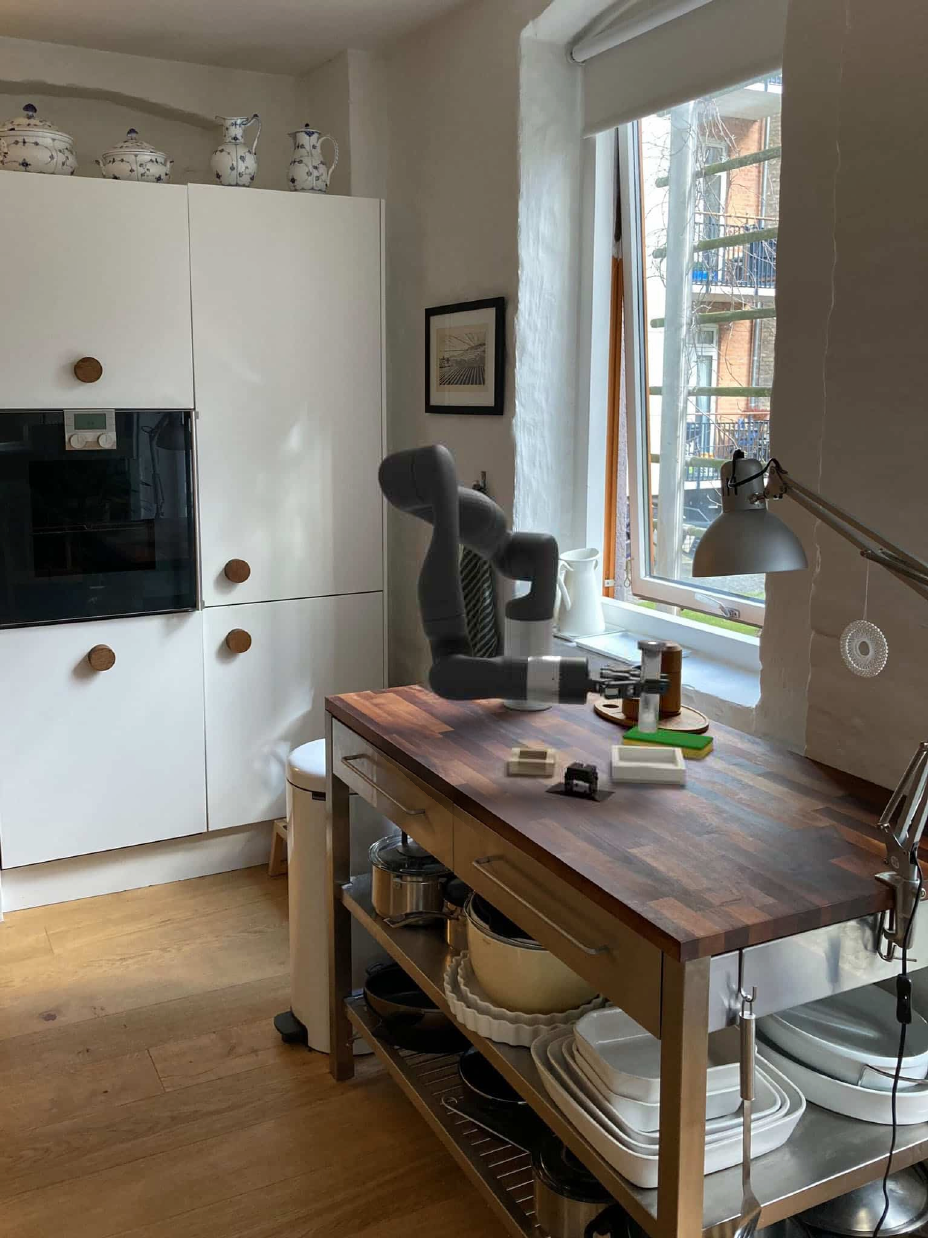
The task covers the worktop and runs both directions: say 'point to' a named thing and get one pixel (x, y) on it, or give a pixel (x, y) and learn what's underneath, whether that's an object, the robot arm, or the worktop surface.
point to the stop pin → (650, 671)
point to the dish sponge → (670, 741)
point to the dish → (648, 765)
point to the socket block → (532, 761)
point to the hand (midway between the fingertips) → (668, 684)
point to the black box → (581, 791)
